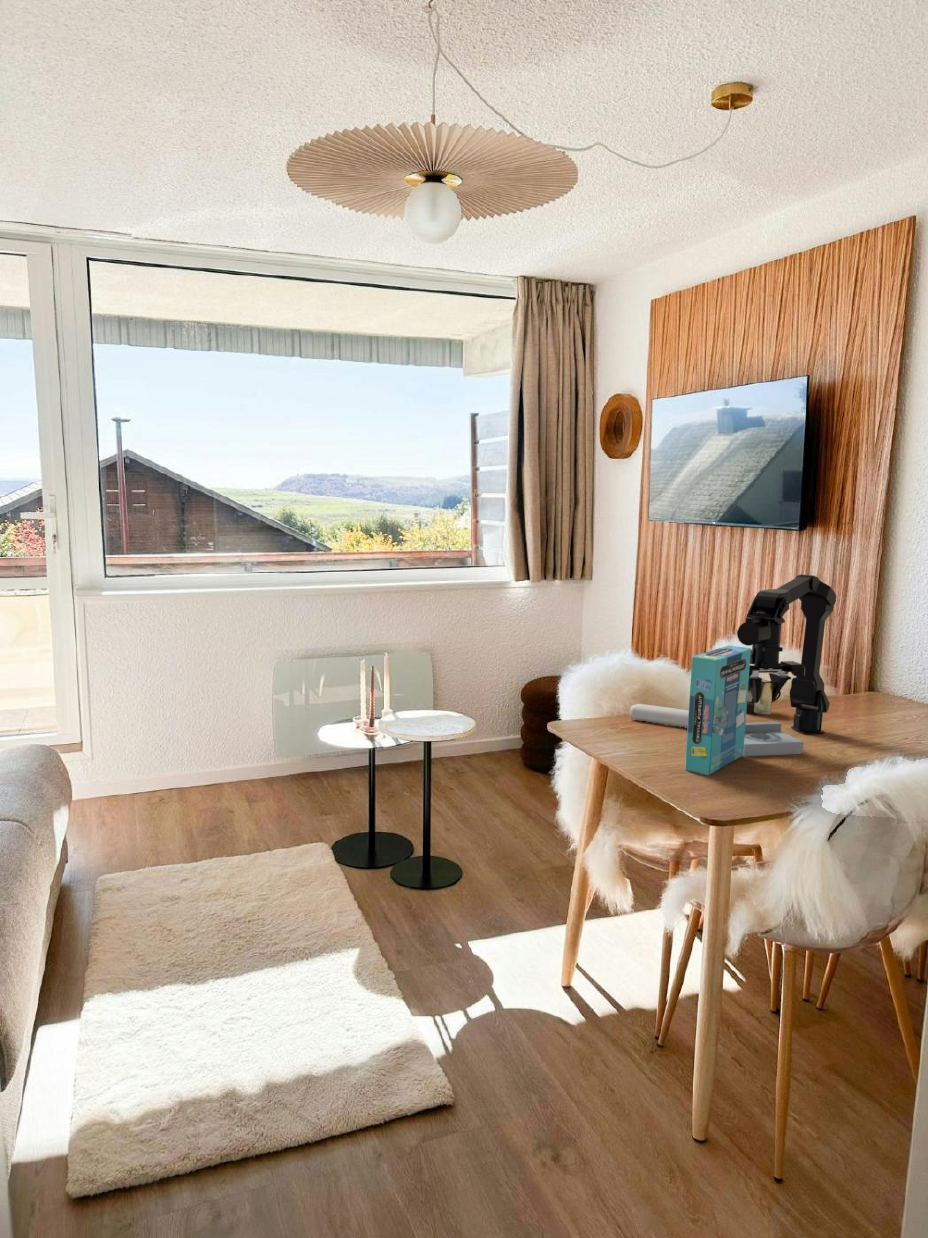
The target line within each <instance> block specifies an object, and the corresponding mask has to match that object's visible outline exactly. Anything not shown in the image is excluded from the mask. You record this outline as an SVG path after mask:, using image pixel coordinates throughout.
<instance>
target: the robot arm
mask: <svg viewBox="0 0 928 1238" xmlns="http://www.w3.org/2000/svg"><path fill="white" fill-rule="evenodd" d="M797 600H800V609H801V612H802V614H803V615H804V618H805V625H804V632H803V633H804V635H803V643H802V651H801V653H802V654H801V661H800V663H799V662H798V661H797V662H796V661H793V660H791V661H790V660H789V661H787V660H783V661H782V660H781V661H780V652H781V653H782V652H783V649H784V648H783V646H781V637H782V625H783V624H785V622H786V620H785V619H784V617H783V616H785V614H786V613H787V612H788V611H789V610H790V605H791V604H792V603H793V602H795V601H797ZM836 602H837V594H836V592H835V591H834V589H833V588H832V587H831V586H830V585H829V584H827V583H825V582H823V581H821V580H820V578H819V577H818V576H816V575H814V574H813V575H811V574H803V573H802V574H798V575H796V577H794V579H792V580H790V581H788V582H786V583H785V584H783V585H780V586H779V587H777V588H772V589H771V588H770V589H764V590H760V591H758V592H757V593H756V595H755V596H754V598H753V600H752V603H751V605H750V607H749V610H748V612H747V614H746V616H745V621H744V622H743V623H741V624H740V625H739V627H738V629H737V630H736V631H737V632H736V635H737V639H738V641H739V642H740V643H741V644H742V645H744V647H745V646H746V647H745V648H747V646H751V655H750V667H749V681H748V684H749V687H750V690H751V694H752V697H753V700H754V702H755V703H758V699H759V694H760V688H761V682H762V678H760V677H761V676H759V674H765V673H766V674H767V673H768V675H769V680H770V681H772V682H773V693H772V704H773V703H774V702H775V701H774V700H775V699H776V698H777V697H778V695H779V692H780V691H782V689H783V687H784V686H785V685H786V683H788V681H789V680H791V681H790V683H791V686H790V689H789V699H790V700H789V701H790V707H791V708H795V713H793V724H792V725H791V726H790V728H791V729H793V730H795V731H797V732H799V733H801V734H804V735H810V734H811V735H813V734H814V735H815V734H816V735H817V734H825V733H826V731H825V730H823V729H822V725H823V714H825V713H828V711H829V709H830V700H829V699H828V695H826V692H825V682H824V680H823V679H822V676H821V674H820V669H821V664H822V663H821V661H822V655H823V654H822V653H823V652H822V651H823V643H824V637H825V636H824V634H825V628H826V627H825V626H826V620H827V619H828V618H829V617H830V616H831V614H832V613H833V611H834V607H835V604H836ZM789 673H791V674H792V675H793V677H791V676H789Z"/></svg>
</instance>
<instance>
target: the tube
mask: <svg viewBox="0 0 928 1238" xmlns="http://www.w3.org/2000/svg"><path fill="white" fill-rule="evenodd" d="M688 713H689V709H682V708H681V709H680V708H673V707H666V706H660V705H652V704H651V705H650V704H646V703H645V704H644V703H636V704H634V705H631V706H630V710H629V717H630V718H631V719H632V720H633V719H635V720H641V721H640V722H642V721H646V722H645V723H648V722H653V723H652V724H655V723H660V724H659V725H661V724H667V725H666V726H668V725H672V726H671V727H675V726H681V727H686V728H685V729H687V728H688ZM635 720H634V721H635ZM681 727H680V728H681Z"/></svg>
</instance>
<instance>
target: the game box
mask: <svg viewBox="0 0 928 1238" xmlns="http://www.w3.org/2000/svg"><path fill="white" fill-rule="evenodd" d="M751 650H752V647H746V648H745V646H736V645H735V646H734V645H726V646H722V647H718V648H716V649H712V650H710V651H706V652H703V653H700V654H697V655H696V654H695V655H694V656H692V657H691V669H690V671H691V672H690V687H689V703H688V710H689V713H688V728H686V729H687V730H686V731H687V732H686V745H685V761H684V770H685V771H687V772H692V773H696V774H699V775H704V776H711V775H712V774H714V773H715V772H717V771H719V770H720V769H722V768H724V767H725V766H728V765H730V764H731V763H733V762H734V761H736V760H738V759H740V758H742V757H744V756H743V751H744V737H745V723H747V722H746V721H747V714H746V709H747V696H748V681H749V667H750V665H751V664H750V655H751Z"/></svg>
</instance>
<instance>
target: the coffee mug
mask: <svg viewBox="0 0 928 1238" xmlns="http://www.w3.org/2000/svg"><path fill="white" fill-rule="evenodd" d="M759 677H760V678H762V680H769V681H771V679H770V678H765V677H761V676H759ZM781 691H782V690H780V692H779V694H778V695H777V697H776V699H775V700H774V702H776V700H779V698H780V697H781V696H782V695H781V694H782V692H781ZM754 709H755V702H754V700H753V697H752V694H751V690H750V687H749V684H748V696H747V709H746V715H750V716H751V715H755V716H760V715H762V714H758V713H755V712H754Z"/></svg>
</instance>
